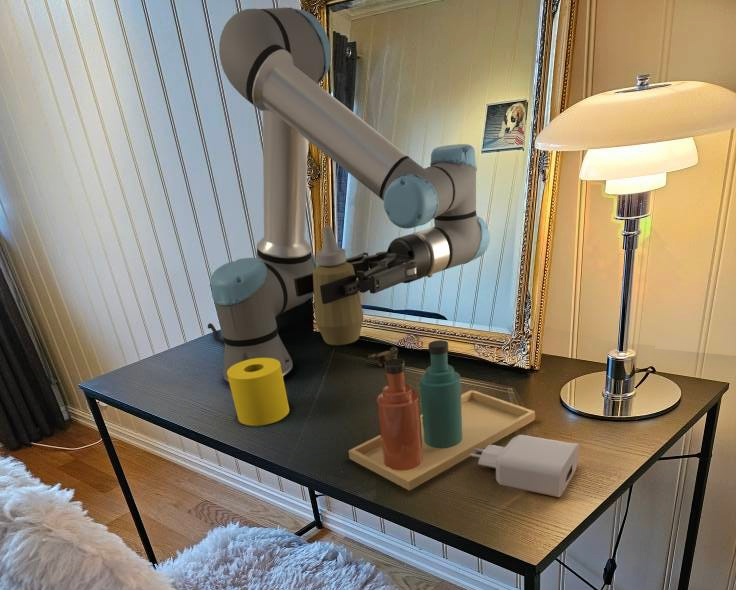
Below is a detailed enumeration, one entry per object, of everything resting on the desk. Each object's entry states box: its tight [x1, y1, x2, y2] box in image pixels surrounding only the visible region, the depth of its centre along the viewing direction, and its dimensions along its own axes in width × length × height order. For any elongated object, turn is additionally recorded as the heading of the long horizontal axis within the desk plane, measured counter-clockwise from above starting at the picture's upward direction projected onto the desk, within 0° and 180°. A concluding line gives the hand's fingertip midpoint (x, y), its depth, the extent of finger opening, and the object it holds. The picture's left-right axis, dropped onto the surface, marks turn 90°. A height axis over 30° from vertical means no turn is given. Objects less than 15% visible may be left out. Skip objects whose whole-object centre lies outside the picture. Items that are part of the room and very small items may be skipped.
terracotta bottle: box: [376, 358, 423, 470], centre depth 100 cm, size 6×6×17 cm
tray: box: [348, 389, 536, 491], centre depth 109 cm, size 15×29×2 cm, turn 129°
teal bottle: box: [419, 339, 462, 448], centre depth 104 cm, size 6×6×17 cm
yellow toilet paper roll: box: [227, 358, 290, 427], centre depth 124 cm, size 10×10×9 cm
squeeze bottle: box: [313, 225, 364, 346], centre depth 105 cm, size 8×8×18 cm
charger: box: [470, 434, 580, 498], centre depth 97 cm, size 5×9×15 cm
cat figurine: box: [366, 346, 399, 368], centre depth 139 cm, size 3×8×4 cm, turn 59°
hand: (309, 291), depth 102 cm, fingers closed on squeeze bottle, 6 cm apart
